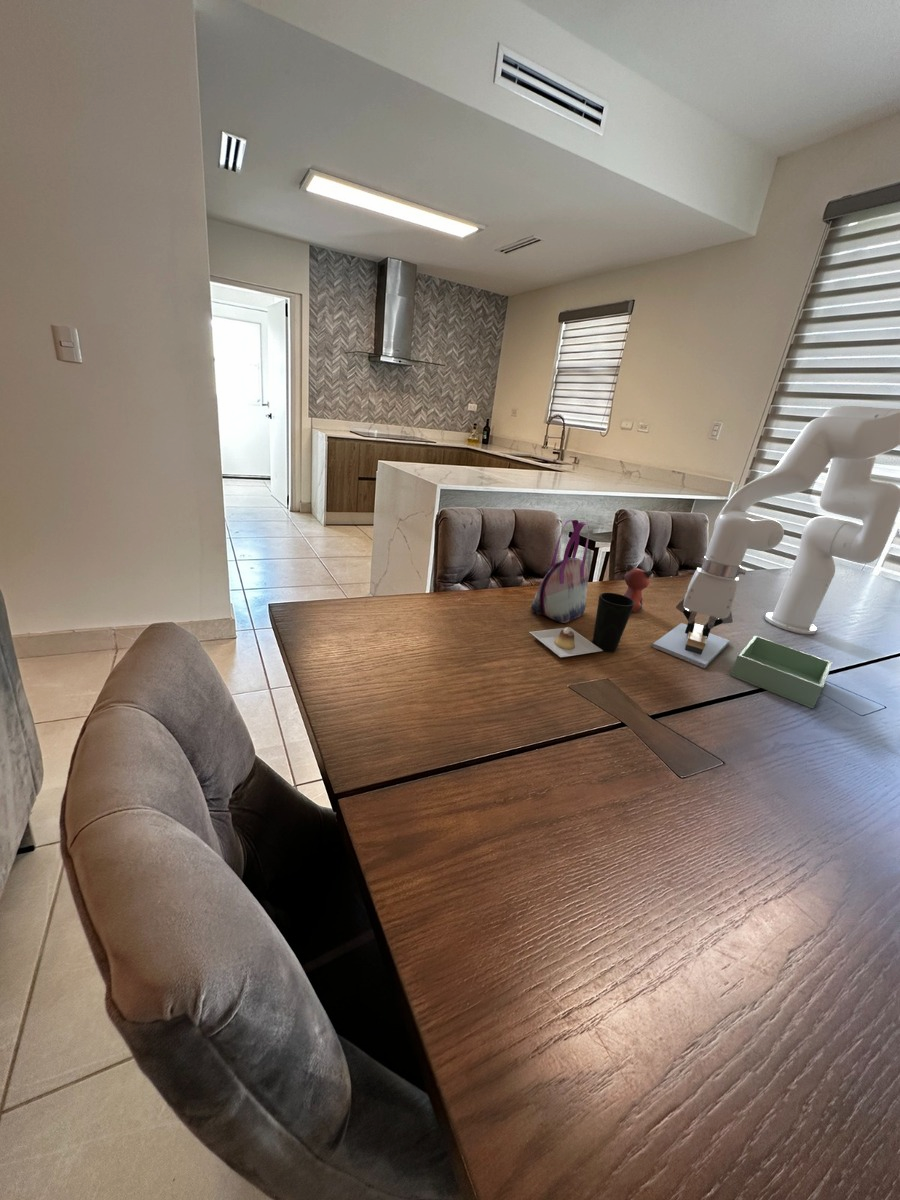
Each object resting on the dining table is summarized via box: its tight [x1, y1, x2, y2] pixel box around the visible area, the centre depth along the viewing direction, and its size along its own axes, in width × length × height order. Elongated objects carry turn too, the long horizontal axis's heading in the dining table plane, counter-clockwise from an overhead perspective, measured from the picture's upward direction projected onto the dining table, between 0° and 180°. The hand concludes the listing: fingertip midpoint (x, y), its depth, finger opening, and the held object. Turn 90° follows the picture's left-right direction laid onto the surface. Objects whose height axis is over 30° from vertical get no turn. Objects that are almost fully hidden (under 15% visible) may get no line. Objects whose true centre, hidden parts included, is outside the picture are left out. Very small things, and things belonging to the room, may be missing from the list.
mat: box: [651, 622, 731, 669], centre depth 116 cm, size 20×12×1 cm, turn 137°
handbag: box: [531, 519, 590, 624], centre depth 120 cm, size 21×10×25 cm, turn 135°
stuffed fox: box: [623, 563, 654, 613], centre depth 131 cm, size 8×11×12 cm
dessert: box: [529, 626, 604, 658], centre depth 107 cm, size 12×12×5 cm
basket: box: [729, 635, 833, 709], centre depth 104 cm, size 16×15×5 cm
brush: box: [685, 622, 706, 654], centre depth 114 cm, size 12×4×3 cm, turn 152°
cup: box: [592, 592, 635, 653], centre depth 108 cm, size 8×8×12 cm
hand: (694, 637), depth 116 cm, fingers closed on brush, 2 cm apart
